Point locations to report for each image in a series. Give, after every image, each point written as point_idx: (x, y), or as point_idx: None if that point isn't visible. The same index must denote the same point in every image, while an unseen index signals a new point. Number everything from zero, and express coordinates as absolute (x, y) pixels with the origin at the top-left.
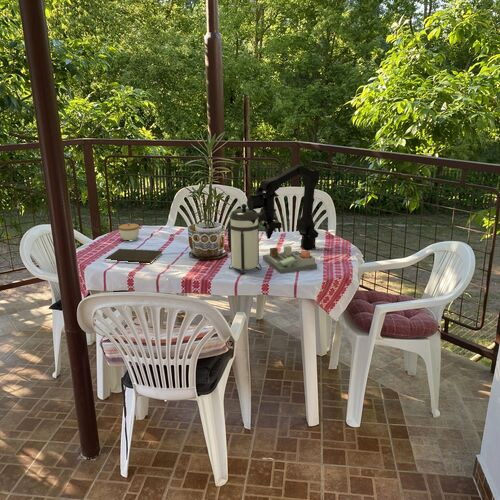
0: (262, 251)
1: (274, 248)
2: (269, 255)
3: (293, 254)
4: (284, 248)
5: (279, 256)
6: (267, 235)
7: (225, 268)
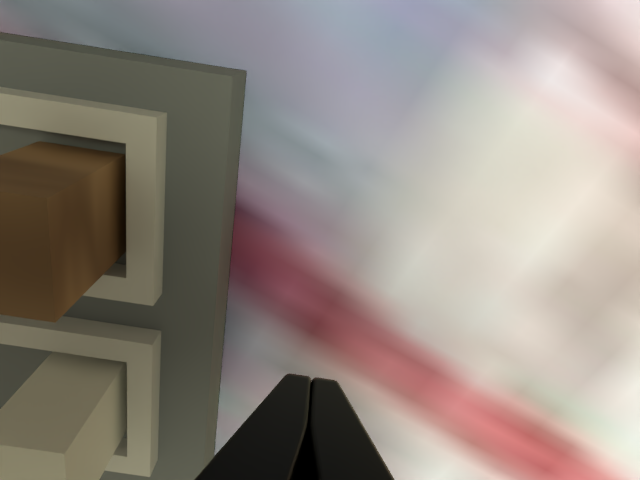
0: (586, 259)
1: (1, 269)
2: (91, 137)
3: None
4: (43, 429)
5: None
6: (240, 435)
7: None
